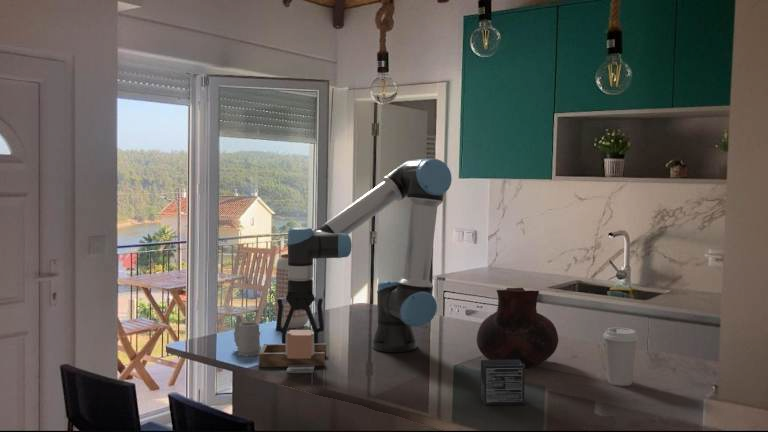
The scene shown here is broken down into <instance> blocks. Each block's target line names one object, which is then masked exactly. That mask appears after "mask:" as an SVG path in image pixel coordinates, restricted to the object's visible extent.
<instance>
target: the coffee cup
mask: <svg viewBox="0 0 768 432" xmlns="http://www.w3.org/2000/svg"><path fill="white" fill-rule="evenodd" d="M602 337H603V339H604V347H605V359H606V360H605V362H606V376H607V382H608V384H609V385H610V384H611V385H613V386H621V387H626V386H631V385H632V383H633V375H634V365H635V357H636V351H637V342H638V340H639V336H638V334H637V332H636V330H635V329H631V328H626V327H608V328H606V329H605V332H604V333H603V335H602Z"/></svg>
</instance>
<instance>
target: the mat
mask: <svg viewBox="0 0 768 432" xmlns="http://www.w3.org/2000/svg"><path fill="white" fill-rule="evenodd" d="M315 367H316V366H315V364H309V365H288V366H287V368H286V373H285V374H309V373H310V374H313V373H314V371H315Z"/></svg>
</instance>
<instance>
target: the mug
mask: <svg viewBox="0 0 768 432" xmlns="http://www.w3.org/2000/svg"><path fill="white" fill-rule="evenodd" d="M234 327H235V328H234V331H233V337H234V339H233V340H234V343H235V346H236V347H237V348H236V349H237V351H238V356H241V357H242V356H243V357H252V356H259V352H260V351H261V349H262V346H261V343H260V336H261V331H260V324H259V322H255V321H250V322H249V321H247V322H243V320H242V317H241V315H240V314H237V315H236V321H235V326H234Z"/></svg>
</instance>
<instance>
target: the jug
mask: <svg viewBox="0 0 768 432" xmlns="http://www.w3.org/2000/svg"><path fill="white" fill-rule="evenodd" d="M496 294H497V298H498V302H497V308H496V311H495V312H493V313H492V314H490V315H489V316H487V317H486V318H485V319H484V320H483V321H482V322H481V324H480V325H479V328H478V329H477V333H476V334H477V335H476V345H477V347H478V350H479V352H480V353H481V354H482V355H483V357H485V359H486V360H520V361H521V362H522V363H523V364H524V365H525V366H524V369H529V368H533V367H536V366H539V365H541V364H542V363H544V362H545V361H547V360H548V359H549V358H550V357H552V355H554V353H555V352H556V350H557V348H558V345H559V334H558V330H557V328H556V326H555V324H554V323H553V321H551V320H550V319H549V318H548V317H547V316H545V315H543V314H541V313H538V311H537V304H538V297H539V294H540V291H539V289H538V290H533V289H532V290H530V289H529V290H525V288H524V287H507V288H506V289H497V290H496Z"/></svg>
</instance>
